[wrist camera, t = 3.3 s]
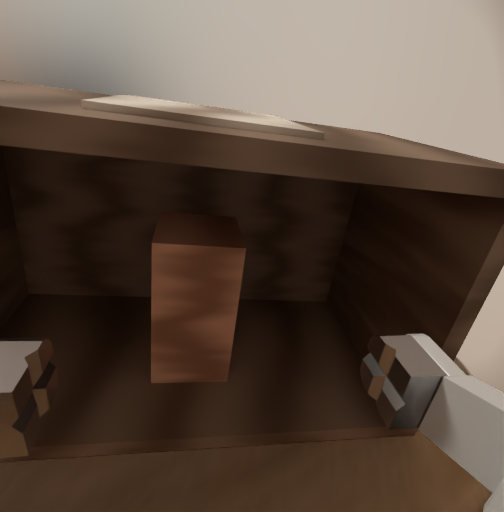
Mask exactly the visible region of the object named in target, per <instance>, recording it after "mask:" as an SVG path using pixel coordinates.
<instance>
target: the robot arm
mask: <svg viewBox="0 0 504 512" xmlns="http://www.w3.org/2000/svg"><path fill="white" fill-rule="evenodd" d="M367 347H368V350H369V352H370V353H369V354H368V355H367V356H366V357H364V358H363V360H362V364H361V367H360V375H361V381H362V384H363V387H364V388H365V390H366V392H367V394H369V395H370V396H371V397H373V398H374V399H376V400H377V401H376V407H375V408H376V409H377V411H378V413H379V414H380V416H381V418H382V419H383V421H384V423H385V425H386V426H387V428H388V430H389V429H414V428H419V429H418V430H419V431H420V432H421V433H422V434H423V435H424V436H426V437H427V438H428V439H429V440H430V441H432V442H433V443H434V444H435V445H436V446H437V447H439V448H440V449H441V450H442V451H443V452H445V453H446V454H447V455H448V456H449V457H450V458H452V459H453V460H454V461H455V462H456V463H457V464H459V465H460V466H461V467H462V468H463V469H465V470H466V471H467V472H468V473H469V474H470V475H472V476H473V477H474V478H475V479H476V480H478V481H479V482H480V483H481V484H482V485H483V486H485V487H486V488H487V489H488V490H489V491H491V492H492V495H491V496H490V497H489V499H488V500H487V502H486V503H485V504H484V508H483V512H504V392H502V391H500V390H498V389H497V388H495V387H493V386H491V385H489V384H487V383H485V382H483V381H482V380H480V379H478V378H476V377H474V376H472V375H470V376H467V375H466V374H465V373H464V372H463V371H462V370H461V369H460V368H459V367H458V366H457V365H456V364H455V363H454V362H453V361H452V360H451V359H450V358H449V357H448V356H447V355H446V354H445V353H444V352H443V351H442V349H441V348H440V347H439V346H438V345H437V344H436V343H435V342H434V341H433V340H432V339H431V338H430V337H429V336H427V335H425V334H406V335H373V336H372V337H371V338H370V340H369V343H368V345H367ZM52 354H53V348H52V343H51V341H50V340H49V339H47V338H0V458H10V457H20V456H29V453H30V451H31V449H32V447H33V445H34V442H35V440H36V438H37V436H38V434H39V431H40V429H41V427H42V426H41V421H40V416H41V415H43V414H44V413H45V412H46V411H48V410H49V409H50V407H51V404H52V402H53V400H54V397H55V392H56V388H57V370H56V367H55V366H54V365H53V364H52V363H51V362H50V361H49V360H50V358H51V356H52Z"/></svg>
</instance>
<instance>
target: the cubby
mask: <svg viewBox="0 0 504 512" xmlns="http://www.w3.org/2000/svg"><path fill="white" fill-rule="evenodd" d="M160 211H162V212H175V213H188V214H202V215H215V216H228V217H236V219H237V222H238V225H239V228H240V231H241V234H242V237H243V240H244V243H245V246H246V254H245V261H244V268H243V275H242V282H241V289H240V296H239V303H238V310H237V317H236V324H235V331H234V338H233V345H232V352H231V359H230V366H229V373H228V380H227V381H222V382H182V383H151V280H152V240H153V236H154V232H155V229H156V225H157V221H158V217H159V213H160ZM503 265H504V164H503V163H499V162H494V161H491V160H487V159H482V158H478V157H474V156H470V155H466V154H462V153H458V152H454V151H449V150H446V149H442V148H438V147H434V146H429V145H426V144H421V143H418V142H413V141H409V140H405V139H401V138H397V137H393V136H389V135H385V134H381V133H375V132H368V131H361V130H354V129H347V128H339V127H332V126H325V125H318V124H310V123H304V122H297V121H290V120H286V119H283V118H280V117H277V116H273V115H266V114H259V113H252V112H244V111H238V110H231V109H224V108H217V107H209V106H203V105H196V104H189V103H182V102H175V101H168V100H161V99H153V98H147V97H140V96H133V95H119V96H112V95H105V94H97V93H90V92H83V91H76V90H69V89H61V88H54V87H47V86H40V85H33V84H26V83H19V82H12V81H4V80H0V338H47V339H49V340H50V341H51V343H52V348H53V354H52V356H51V358H50V360H49V361H50V362H51V363H52V364H53V365H54V366H55V367H56V370H57V388H56V392H55V397H54V400H53V402H52V404H51V407H50V409H49V410H48V411H46V412H45V413H44V414H43V415H41V416H40V421H41V426H42V427H41V429H40V431H39V434H38V436H37V438H36V440H35V442H34V445H33V447H32V449H31V451H30V453H29V456H20V457H10V458H0V462H7V461H23V460H38V459H53V458H69V457H84V456H100V455H115V454H130V453H146V452H161V451H177V450H192V449H207V448H223V447H238V446H253V445H269V444H284V443H300V442H315V441H330V440H346V439H361V438H377V437H392V436H407V435H415V434H416V432H417V430H418V428H414V429H389V430H388V428H387V426H386V425H385V423H384V421H383V419H382V418H381V416H380V414H379V413H378V411H377V409H376V408H375V407H376V401H377V400H376V399H374V398H373V397H371V396H370V395H369V394H367V392H366V390H365V388H364V387H363V384H362V381H361V375H360V367H361V364H362V360H363V358H364V357H366V356H367V355H368V354H369V353H370V352H369V350H368V347H367V345H368V343H369V340H370V338H371V337H372V336H373V335H406V334H425V335H427V336H429V337H430V338H431V339H432V340H433V341H434V342H435V343H436V344H437V345H438V346H439V347H440V348H441V349H442V351H443V352H444V353H445V354H446V355H447V356H448V357H449V358H450V359H451V360H452V361H454V359H455V357H456V355H457V353H458V351H459V349H460V348H461V346H462V344H463V342H464V340H465V338H466V336H467V334H468V332H469V330H470V328H471V327H472V324H473V323H474V321H475V319H476V317H477V315H478V313H479V311H480V309H481V307H482V306H483V304H484V301H485V300H486V298H487V296H488V294H489V292H490V290H491V288H492V286H493V285H494V283H495V281H496V279H497V277H498V275H499V273H500V271H501V269H502V267H503Z"/></svg>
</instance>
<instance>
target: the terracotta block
mask: <svg viewBox="0 0 504 512" xmlns="http://www.w3.org/2000/svg"><path fill="white" fill-rule="evenodd" d="M245 254H246V246H245V243H244V240H243V237H242V234H241V231H240V228H239V225H238V222H237V219H236V217H228V216H215V215H202V214H188V213H175V212H162V211H160V213H159V217H158V221H157V225H156V229H155V232H154V236H153V240H152V280H151V383H182V382H222V381H227V380H228V373H229V366H230V359H231V352H232V345H233V338H234V331H235V324H236V317H237V310H238V303H239V296H240V289H241V282H242V275H243V268H244V261H245Z"/></svg>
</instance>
